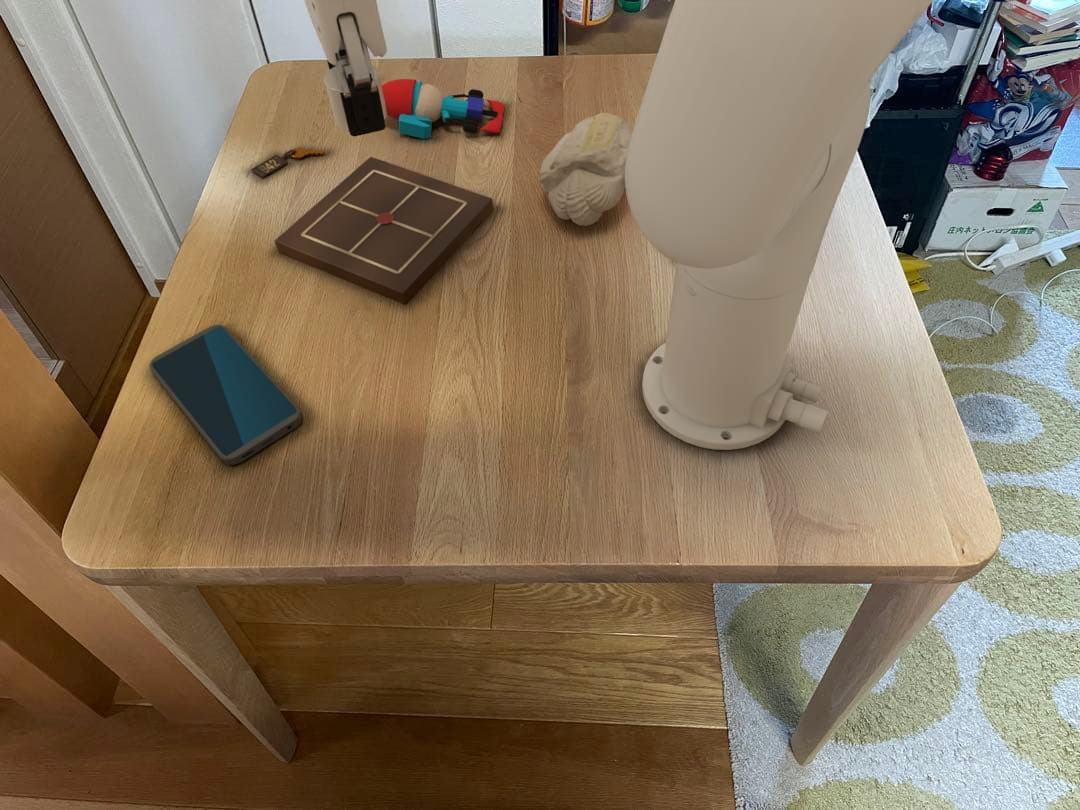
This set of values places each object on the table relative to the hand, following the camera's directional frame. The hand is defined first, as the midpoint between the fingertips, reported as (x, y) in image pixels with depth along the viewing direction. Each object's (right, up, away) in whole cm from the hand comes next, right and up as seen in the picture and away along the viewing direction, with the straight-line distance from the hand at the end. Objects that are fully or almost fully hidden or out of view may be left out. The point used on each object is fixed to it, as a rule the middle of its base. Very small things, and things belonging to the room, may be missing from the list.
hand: (360, 113), depth 74 cm
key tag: (-12, +1, +19) cm, 23 cm away
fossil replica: (+21, -5, +13) cm, 26 cm away
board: (0, -8, +11) cm, 14 cm away
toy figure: (+5, +7, +23) cm, 25 cm away
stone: (0, 0, 0) cm, 0 cm away
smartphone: (-11, -25, -2) cm, 28 cm away
